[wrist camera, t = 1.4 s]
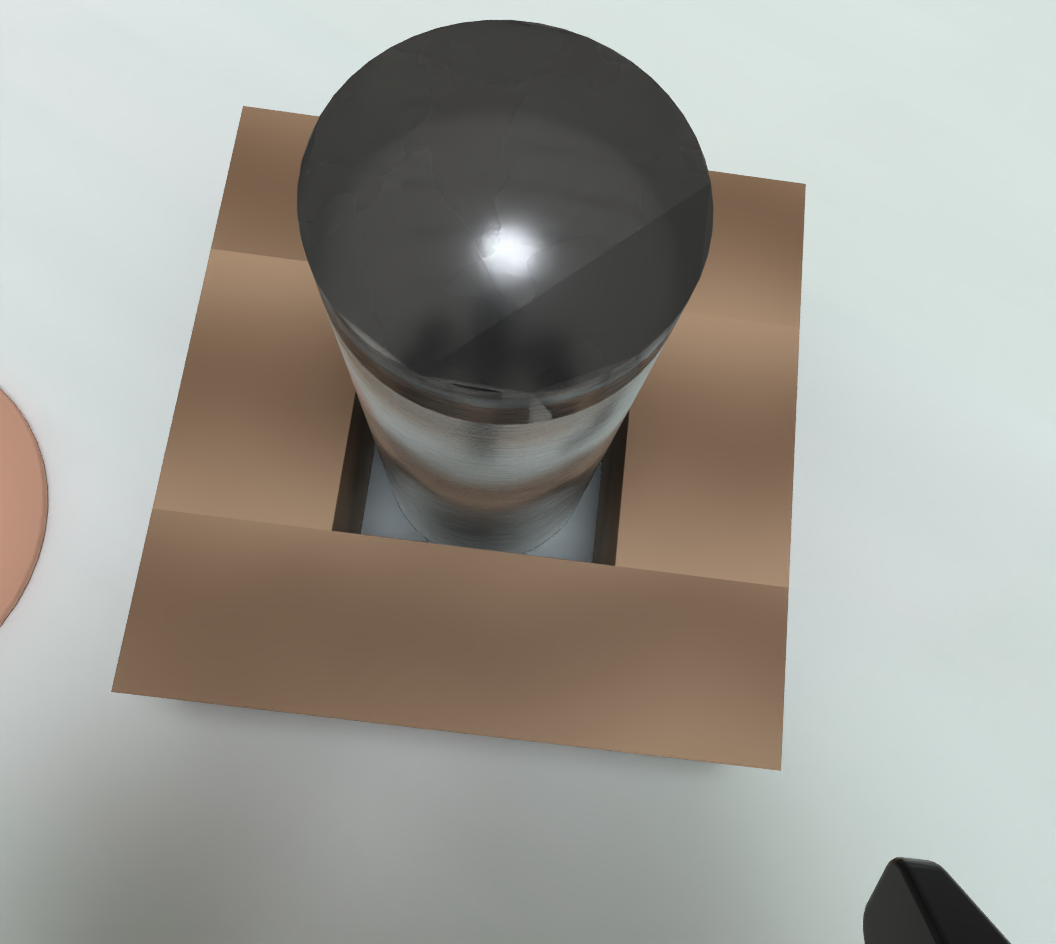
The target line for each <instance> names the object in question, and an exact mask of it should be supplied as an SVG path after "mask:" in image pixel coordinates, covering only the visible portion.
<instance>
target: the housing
mask: <svg viewBox="0 0 1056 944" xmlns="http://www.w3.org/2000/svg"><path fill="white" fill-rule="evenodd" d="M318 119H319V116H311V115H304V114H297V113H290V112H283V111H275V110H268V109H261V108H254V107H247V106H243V109H242V113H241V118H240V122H239V127H238V131H237V136H236V140H235V144H234V149H233V153H232V158H231V162H230V167H229V171H228V176H227V180H226V184H225V189H224V193H223V198H222V202H221V207H220V211H219V216H218V220H217V224H216V229H215V233H214V238H213V242H212V247H211V251H210V256H209V260H208V264H207V269H206V273H205V278H204V282H203V287H202V291H201V295H200V300H199V304H198V309H197V313H196V318H195V322H194V327H193V331H192V335H191V340H190V344H189V349H188V353H187V358H186V362H185V367H184V371H183V375H182V380H181V384H180V389H179V393H178V398H177V402H176V407H175V411H174V415H173V420H172V424H171V429H170V433H169V438H168V442H167V446H166V451H165V455H164V460H163V464H162V469H161V473H160V478H159V482H158V486H157V491H156V495H155V500H154V504H153V509H152V513H151V518H150V522H149V526H148V531H147V535H146V540H145V544H144V549H143V553H142V558H141V562H140V566H139V571H138V575H137V580H136V584H135V589H134V593H133V597H132V602H131V606H130V611H129V615H128V620H127V624H126V629H125V633H124V637H123V642H122V646H121V651H120V655H119V660H118V664H117V669H116V673H115V677H114V682H113V686H112V691H111V692H117V693H126V694H134V695H143V696H151V697H160V698H168V699H177V700H185V701H194V702H202V703H211V704H219V705H228V706H236V707H245V708H253V709H262V710H270V711H279V712H287V713H296V714H304V715H313V716H321V717H330V718H338V719H347V720H355V721H364V722H372V723H381V724H389V725H398V726H406V727H415V728H423V729H432V730H440V731H449V732H457V733H466V734H474V735H483V736H491V737H500V738H508V739H517V740H525V741H534V742H542V743H551V744H559V745H568V746H576V747H584V748H593V749H601V750H610V751H618V752H627V753H635V754H644V755H652V756H661V757H669V758H678V759H686V760H695V761H703V762H712V763H720V764H729V765H737V766H746V767H754V768H763V769H771V770H780V771H781V756H782V732H783V708H784V684H785V661H786V637H787V613H788V590H789V566H790V542H791V518H792V495H793V471H794V447H795V423H796V400H797V376H798V352H799V329H800V305H801V281H802V257H803V234H804V210H805V186H806V184H801V183H794V182H787V181H779V180H772V179H765V178H758V177H751V176H743V175H736V174H729V173H722V172H715V171H708V173H709V177H710V181H711V188H712V197H713V206H714V207H713V232H712V237H711V242H710V248H709V253H708V257H707V260H706V263H705V266H704V269H703V272H702V274H701V277H700V280H699V281H698V283H697V285H696V287H695V289H694V291H693V293H692V295H691V297H690V299H689V301H688V303H687V305H686V306H685V308H684V310H683V312H682V314H681V316H680V317H679V319H678V321H677V323H676V325H675V327H674V328H673V330H672V332H671V334H670V336H669V338H668V339H667V341H666V343H665V345H664V347H663V348H662V350H661V352H660V354H659V356H658V358H657V359H656V361H655V363H654V365H653V367H652V369H651V370H650V372H649V374H648V376H647V378H646V380H645V381H644V383H643V385H642V387H641V389H640V391H639V392H638V394H637V396H636V398H635V400H634V402H633V403H632V405H631V407H630V409H629V411H628V413H627V414H626V416H625V418H624V420H623V422H622V423H621V425H620V427H619V429H618V431H617V433H616V434H615V436H614V438H613V440H612V442H611V444H610V445H609V447H608V449H607V451H606V453H605V455H604V456H603V462H602V472H601V483H600V493H599V503H598V513H597V523H596V534H595V544H594V554H593V563H587V562H579V561H571V560H563V559H555V558H547V557H539V556H531V555H523V554H515V553H507V552H499V551H491V550H483V549H475V548H467V547H459V546H450V545H442V544H434V543H426V542H418V541H410V540H402V539H394V538H386V537H378V536H370V535H362V534H360V532H361V526H362V520H363V514H364V508H365V502H366V496H367V490H368V484H369V478H370V471H371V465H372V459H373V453H374V447H375V441H374V439H373V436H372V433H371V430H370V428H369V425H368V422H367V420H366V417H365V414H364V412H363V409H362V406H361V404H360V401H359V398H358V395H357V393H356V390H355V387H354V385H353V382H352V379H351V377H350V374H349V371H348V368H347V366H346V363H345V360H344V358H343V355H342V352H341V350H340V347H339V344H338V341H337V339H336V336H335V333H334V331H333V328H332V325H331V323H330V320H329V317H328V315H327V312H326V309H325V306H324V304H323V301H322V298H321V296H320V293H319V290H318V288H317V285H316V282H315V279H314V277H313V274H312V271H311V269H310V266H309V263H308V261H307V257H306V254H305V250H304V247H303V243H302V240H301V236H300V230H299V222H298V215H297V185H298V179H299V173H300V167H301V161H302V158H303V155H304V152H305V149H306V146H307V143H308V140H309V137H310V135H311V133H312V131H313V129H314V127H315V125H316V123H317V121H318Z"/></svg>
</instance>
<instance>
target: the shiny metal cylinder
mask: <svg viewBox="0 0 1056 944" xmlns="http://www.w3.org/2000/svg"><path fill="white" fill-rule="evenodd" d="M713 207H714V206H713V197H712V188H711V181H710V177H709V173H708V169H707V165H706V161H705V158H704V155H703V153H702V150H701V148H700V146H699V143H698V141H697V138H696V136H695V134H694V132H693V131H692V129H691V127H690V125H689V124H688V122H687V120H686V118H685V117H684V115H683V114H682V112H681V111H680V110H679V108H678V107H677V106H676V104H675V103H674V102H673V100H672V99H671V98H670V96H669V95H668V94H667V93H666V92H665V91H664V90H663V89H662V88H661V87H660V86H659V85H658V84H657V83H656V82H655V81H654V80H653V79H652V78H651V77H650V76H649V75H647V74H646V73H645V72H644V71H643V70H641V69H640V68H639V67H638V66H636V65H635V64H634V63H633V62H631V61H630V60H628V59H626V58H625V57H623V56H622V55H620V54H619V53H617V52H615V51H614V50H612V49H611V48H609V47H607V46H604V45H602V44H600V43H598V42H596V41H594V40H592V39H590V38H588V37H585V36H582V35H579V34H576V33H574V32H571V31H568V30H565V29H562V28H557V27H553V26H549V25H544V24H540V23H533V22H524V21H515V20H483V21H473V22H464V23H458V24H454V25H449V26H445V27H440V28H436V29H433V30H430V31H428V32H425V33H422V34H419V35H416V36H413V37H411V38H409V39H407V40H405V41H403V42H401V43H399V44H397V45H395V46H393V47H390V48H389V49H387V50H386V51H384V52H383V53H381V54H380V55H378V56H377V57H375V58H373V59H372V60H370V61H369V62H368V63H367V64H365V65H364V66H363V67H362V68H361V69H359V70H358V71H357V72H356V73H355V74H354V75H352V76H351V77H350V78H349V79H348V80H347V81H346V83H345V84H344V85H343V86H342V87H341V88H340V89H339V90H338V91H337V93H336V94H335V95H334V96H333V97H332V99H331V100H330V102H329V103H328V105H327V106H326V108H325V109H324V111H323V112H322V114H321V115H320V117H319V119H318V121H317V123H316V125H315V127H314V129H313V131H312V133H311V135H310V137H309V140H308V143H307V146H306V149H305V152H304V155H303V158H302V161H301V167H300V173H299V179H298V185H297V215H298V222H299V230H300V236H301V240H302V243H303V247H304V250H305V254H306V257H307V261H308V263H309V266H310V269H311V271H312V274H313V277H314V279H315V282H316V285H317V288H318V290H319V293H320V296H321V298H322V301H323V304H324V306H325V309H326V312H327V315H328V317H329V320H330V323H331V325H332V328H333V331H334V333H335V336H336V339H337V341H338V344H339V347H340V350H341V352H342V355H343V358H344V360H345V363H346V366H347V368H348V371H349V374H350V377H351V379H352V382H353V385H354V387H355V390H356V393H357V395H358V398H359V401H360V404H361V406H362V409H363V412H364V414H365V417H366V420H367V422H368V425H369V428H370V430H371V433H372V436H373V439H374V441H375V444H376V447H377V449H378V452H379V455H380V457H381V460H382V463H383V466H384V468H385V471H386V474H387V476H388V479H389V482H390V484H391V487H392V490H393V493H394V495H395V498H396V500H397V502H398V504H399V507H400V508H401V510H402V512H403V513H404V515H405V517H406V518H407V519H408V521H409V522H410V523H411V524H412V526H413V527H414V528H415V529H416V530H417V531H418V532H419V533H420V534H421V535H422V536H424V537H425V538H426V539H428V540H429V541H430V542H432V543H434V544H442V545H450V546H459V547H467V548H475V549H483V550H491V551H499V552H507V553H515V554H523V553H526V552H528V551H530V550H532V549H534V548H536V547H538V546H539V545H541V544H543V543H544V542H546V541H547V540H549V539H550V538H551V537H552V536H553V535H555V534H556V533H557V532H558V531H559V530H560V529H561V527H562V526H563V525H564V524H565V523H566V522H567V520H568V519H569V517H570V516H571V515H572V513H573V511H574V509H575V508H576V506H577V504H578V502H579V500H580V499H581V497H582V495H583V493H584V491H585V489H586V488H587V486H588V484H589V482H590V480H591V478H592V477H593V475H594V473H595V471H596V469H597V467H598V466H599V464H600V462H601V460H602V458H603V456H604V455H605V453H606V451H607V449H608V447H609V445H610V444H611V442H612V440H613V438H614V436H615V434H616V433H617V431H618V429H619V427H620V425H621V423H622V422H623V420H624V418H625V416H626V414H627V413H628V411H629V409H630V407H631V405H632V403H633V402H634V400H635V398H636V396H637V394H638V392H639V391H640V389H641V387H642V385H643V383H644V381H645V380H646V378H647V376H648V374H649V372H650V370H651V369H652V367H653V365H654V363H655V361H656V359H657V358H658V356H659V354H660V352H661V350H662V348H663V347H664V345H665V343H666V341H667V339H668V338H669V336H670V334H671V332H672V330H673V328H674V327H675V325H676V323H677V321H678V319H679V317H680V316H681V314H682V312H683V310H684V308H685V306H686V305H687V303H688V301H689V299H690V297H691V295H692V293H693V291H694V289H695V287H696V285H697V283H698V281H699V280H700V277H701V274H702V272H703V269H704V266H705V263H706V260H707V257H708V253H709V248H710V242H711V237H712V232H713Z"/></svg>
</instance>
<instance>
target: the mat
mask: <svg viewBox="0 0 1056 944" xmlns="http://www.w3.org/2000/svg"><path fill="white" fill-rule="evenodd" d="M47 511H48V493H47V480H46V474H45V468H44V462H43V459H42V456H41V453H40V450H39V447H38V444H37V441H36V439H35V437H34V435H33V433H32V431H31V429H30V427H29V425H28V423H27V421H26V420H25V418H24V417H23V415H22V414H21V412H20V411H19V410H18V408H17V407H16V405H15V404H14V403H13V402H12V401H11V400H10V399H9V398H8V396H7V395H6V394H5V393H4V392H3V391H2V390H1V389H0V626H1V624H2V623H3V622H4V620H5V619H6V618H7V616H8V615H9V613H10V612H11V611H12V609H13V608H14V606H15V605H16V604H17V602H18V600H19V598H20V596H21V595H22V593H23V591H24V589H25V587H26V585H27V584H28V582H29V580H30V577H31V575H32V572H33V570H34V567H35V565H36V562H37V560H38V557H39V554H40V550H41V546H42V542H43V538H44V534H45V528H46V520H47Z"/></svg>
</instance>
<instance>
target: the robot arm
mask: <svg viewBox="0 0 1056 944" xmlns="http://www.w3.org/2000/svg"><path fill="white" fill-rule="evenodd" d="M863 933H864V940H865V944H1011V943H1010V942H1009V941H1008V940H1007V939H1006V938H1005V937H1004V935H1003V934H1002V933H1001V932H1000V931H999V930H998V929H997V928H996V926H995V925H994V924H993V923H992V922H991V921H990V920H989V919H988V917H987V916H986V915H985V914H984V913H983V912H982V911H981V910H980V908H979V907H978V906H977V905H976V904H975V903H974V902H973V901H972V899H971V898H970V897H969V896H968V895H967V894H966V893H965V892H964V890H963V889H962V888H961V887H960V886H959V885H958V884H957V883H956V881H955V880H954V879H953V878H952V877H951V876H950V875H949V874H948V872H947V871H946V870H945V869H944V868H942V867H941V866H940V865H938V864H937V863H935V862H932V861H929V860H921V859H912V858H904V857H896V858H894V859H893V860H891V861H890V862H889V863H888V865H887V866H886V868H885V870H884V872H883V874H882V876H881V878H880V880H879V882H878V883H877V885H876V887H875V889H874V891H873V893H872V895H871V897H870V899H869V901H868V903H867V905H866V908H865V911H864V917H863Z"/></svg>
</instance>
